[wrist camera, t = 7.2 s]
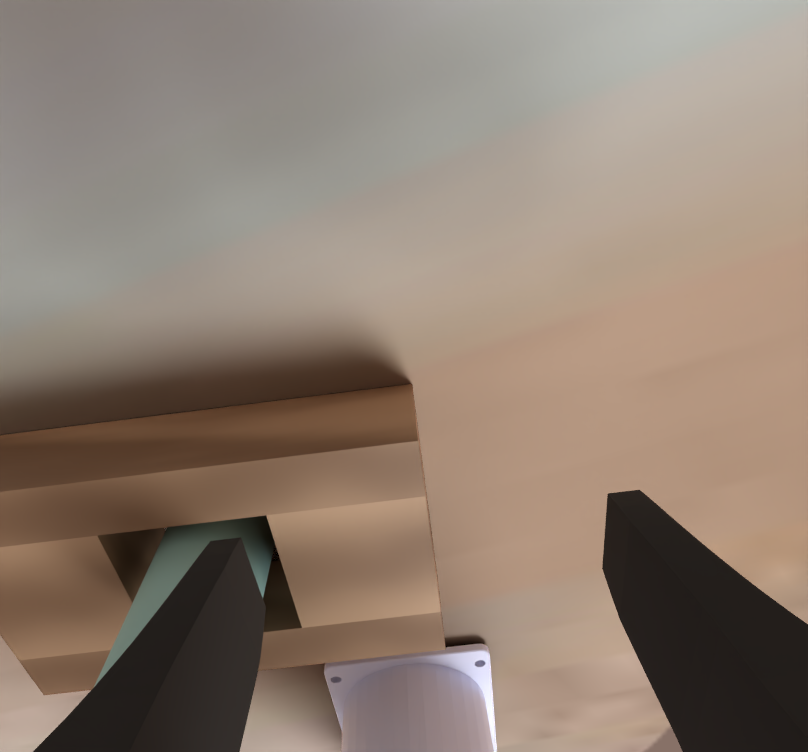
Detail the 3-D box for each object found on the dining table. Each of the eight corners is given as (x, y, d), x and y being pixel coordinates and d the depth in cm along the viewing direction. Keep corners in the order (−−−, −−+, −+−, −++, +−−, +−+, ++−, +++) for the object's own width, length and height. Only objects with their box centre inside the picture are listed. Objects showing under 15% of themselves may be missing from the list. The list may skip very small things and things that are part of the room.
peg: (289, 543, 24) (251, 744, 17) (196, 554, 24) (118, 758, 17) (267, 468, 22) (214, 660, 15) (165, 480, 22) (64, 676, 15)
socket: (437, 577, 25) (445, 649, 22) (84, 618, 25) (44, 695, 22) (412, 383, 20) (418, 440, 17) (-24, 438, 20) (-95, 503, 17)
